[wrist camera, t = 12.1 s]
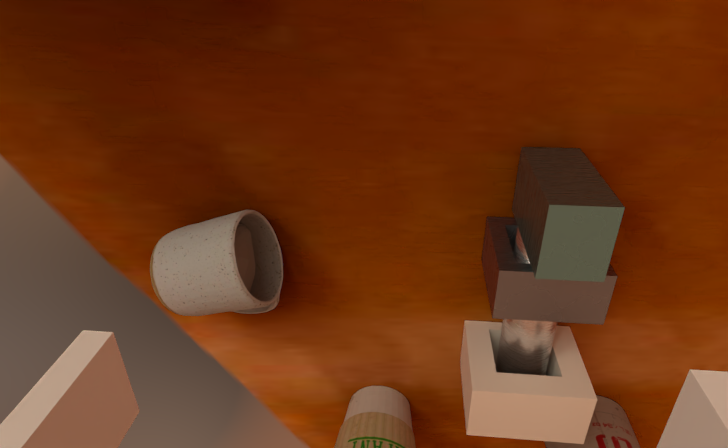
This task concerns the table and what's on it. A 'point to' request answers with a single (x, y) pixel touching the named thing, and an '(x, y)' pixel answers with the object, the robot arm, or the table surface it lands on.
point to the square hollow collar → (536, 284)
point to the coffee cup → (377, 420)
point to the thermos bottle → (605, 428)
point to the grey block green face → (556, 240)
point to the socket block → (525, 390)
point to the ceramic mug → (219, 266)
